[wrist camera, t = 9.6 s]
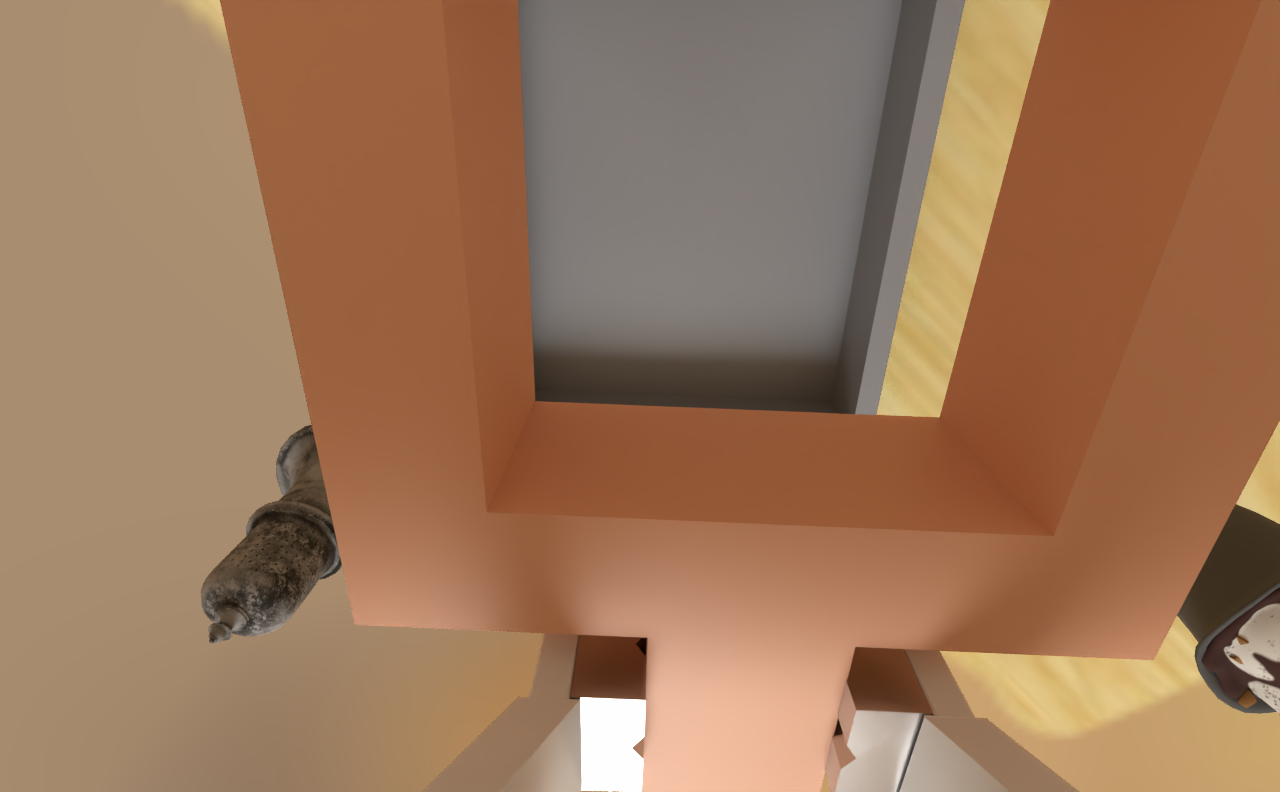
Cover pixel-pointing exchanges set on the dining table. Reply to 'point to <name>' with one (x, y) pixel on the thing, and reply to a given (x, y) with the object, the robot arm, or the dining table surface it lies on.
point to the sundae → (1239, 614)
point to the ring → (780, 440)
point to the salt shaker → (276, 551)
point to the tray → (725, 195)
